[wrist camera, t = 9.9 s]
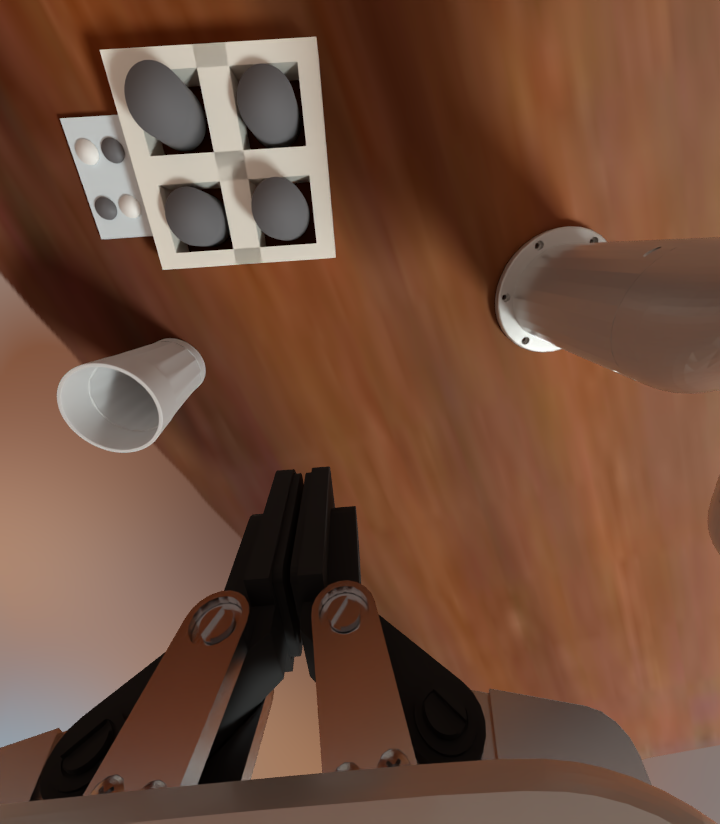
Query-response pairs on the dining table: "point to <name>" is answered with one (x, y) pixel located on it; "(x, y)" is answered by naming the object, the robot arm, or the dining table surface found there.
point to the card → (107, 175)
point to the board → (229, 147)
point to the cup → (130, 394)
